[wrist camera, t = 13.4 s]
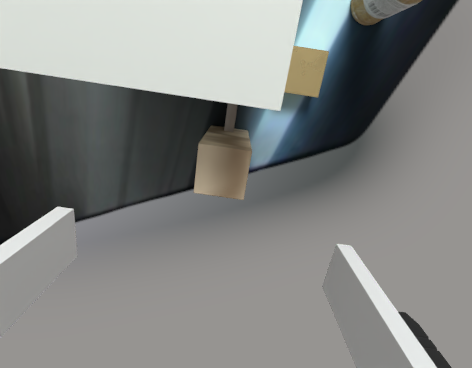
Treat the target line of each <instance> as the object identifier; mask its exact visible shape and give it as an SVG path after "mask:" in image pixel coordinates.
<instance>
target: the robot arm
mask: <svg viewBox="0 0 472 368" xmlns="http://www.w3.org/2000/svg"><path fill="white" fill-rule="evenodd" d="M76 257H77V244H76V231H75V219H74V209H71V208H63V207H56V208H55V209H54V210H52V211H51V212H49V213H48V214H46V215H45V216H43V217H42V218H40V219H39V220H37V221H36V222H34V223H33V224H31V225H30V226H28V227H27V228H25V229H24V230H22V231H21V232H19V233H18V234H16V235H15V236H13V237H12V238H10V239H9V240H8V241H6V242H5V243H3V244H2V245H0V338H1V337H2V336H3V335H4V333H6V331H7V330H8V329H9V328H10V327H11V326H12V325H13V324H14V323H15V322H16V321H17V320H18V319H19V318H20V317H21V315H22V314H23V313H24V312H25V311H26V310H27V309H28V308H29V307H30V306H31V305H32V304H33V302H35V301H36V299H37V298H38V297H39V296H40V295H41V294H42V293H43V292H44V291H45V290H46V289H47V288H48V287H49V286H50V285H51V284H52V283H53V281H54V280H55V279H56V278H57V277H58V276H59V275H60V274H61V273H62V272H63V271H64V270H65V269H66V268H67V267H68V265H69V264H70V263H71V262H72V261H73V260H74V259H75V258H76ZM322 287H323V289H324V292H325V294H326V297H327V299H328V301H329V304H330V306H331V309H332V311H333V313H334V316H335V318H336V321H337V323H338V325H339V328H340V330H341V332H342V335H343V337H344V340H345V342H346V344H347V347H348V349H349V352H350V354H351V356H352V359H353V361H354V363H355V366H356V368H451V366H450V365H449V364H448V362H447V361H446V360H445V358H444V357H443V356H442V355H441V353H440V352H439V351H437V348H436V347H435V345H434V344H433V343H432V341H431V340H429V339H428V336H427V335H426V333H425V332H424V331H423V329H422V328H421V327H420V325H419V324H418V323H417V322H415V321H414V320H413V319H412V318H411V317H410V316H409V315H408V314H406V313H404V312H397V310H396V309H395V307H394V306H393V305H392V303H391V302H390V300H389V299H388V297H387V296H386V295H385V293H384V292H383V290H382V289H381V287H380V286H379V285H378V283H377V282H376V280H375V279H374V278H373V276H372V275H371V273H370V272H369V271H368V269H367V268H366V266H365V265H364V263H363V262H362V261H361V259H360V258H359V256H358V255H357V253H356V252H355V251H354V249H353V248H352V246H350V245H342V244H336V247H335V250H334V253H333V256H332V259H331V262H330V265H329V268H328V271H327V274H326V277H325V280H324V283H323V286H322Z"/></svg>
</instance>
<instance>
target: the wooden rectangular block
mask: <svg viewBox="0 0 472 368" xmlns="http://www.w3.org/2000/svg"><path fill="white" fill-rule="evenodd" d="M237 105H238V104H231V103H228V105H227V113H226V120H225V127H221V126H214V125H211V126H210V128H209V129H208V131H207V132H206V134H205V135H204V136H203V138H202V139H201V141H200V142H199V144H198V154H197V164H196V174H195V185H194V193H198V194H205V195H212V196H219V197H226V198H233V199H240V200H243V199H244V194H245V188H246V183H247V177H248V171H249V166H250V160H251V154H252V149H251V144H250V139H249V134H248V131H247V130H240V129H234V126H235V119H236V112H237Z"/></svg>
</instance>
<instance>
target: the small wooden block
mask: <svg viewBox="0 0 472 368" xmlns="http://www.w3.org/2000/svg"><path fill="white" fill-rule="evenodd" d="M328 53H329V51H323V50H317V49H310V48H304V47H298V46H293V51H292V56H291V61H290V66H289V71H288V76H287V81H286V86H285V91H284V92H286V93H292V94H299V95H305V96H312V97H318V95H319V91H320V87H321V82H322V78H323V74H324V70H325V66H326V62H327V58H328Z"/></svg>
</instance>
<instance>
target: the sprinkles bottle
mask: <svg viewBox="0 0 472 368" xmlns="http://www.w3.org/2000/svg"><path fill="white" fill-rule="evenodd" d="M420 1H422V0H351V11H352V15H353V17H354V19H355V20H356V21H358V23H360V24H363V25H373V24H375V23H377V22H379V21H380V20H382V19H383V18H387V17H389V16H392V15H394V14H396V13H398V12H400V11H403V10H405V9H407V8H409V7H411V6H413V5H415V4H417V3H419V2H420Z"/></svg>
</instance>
